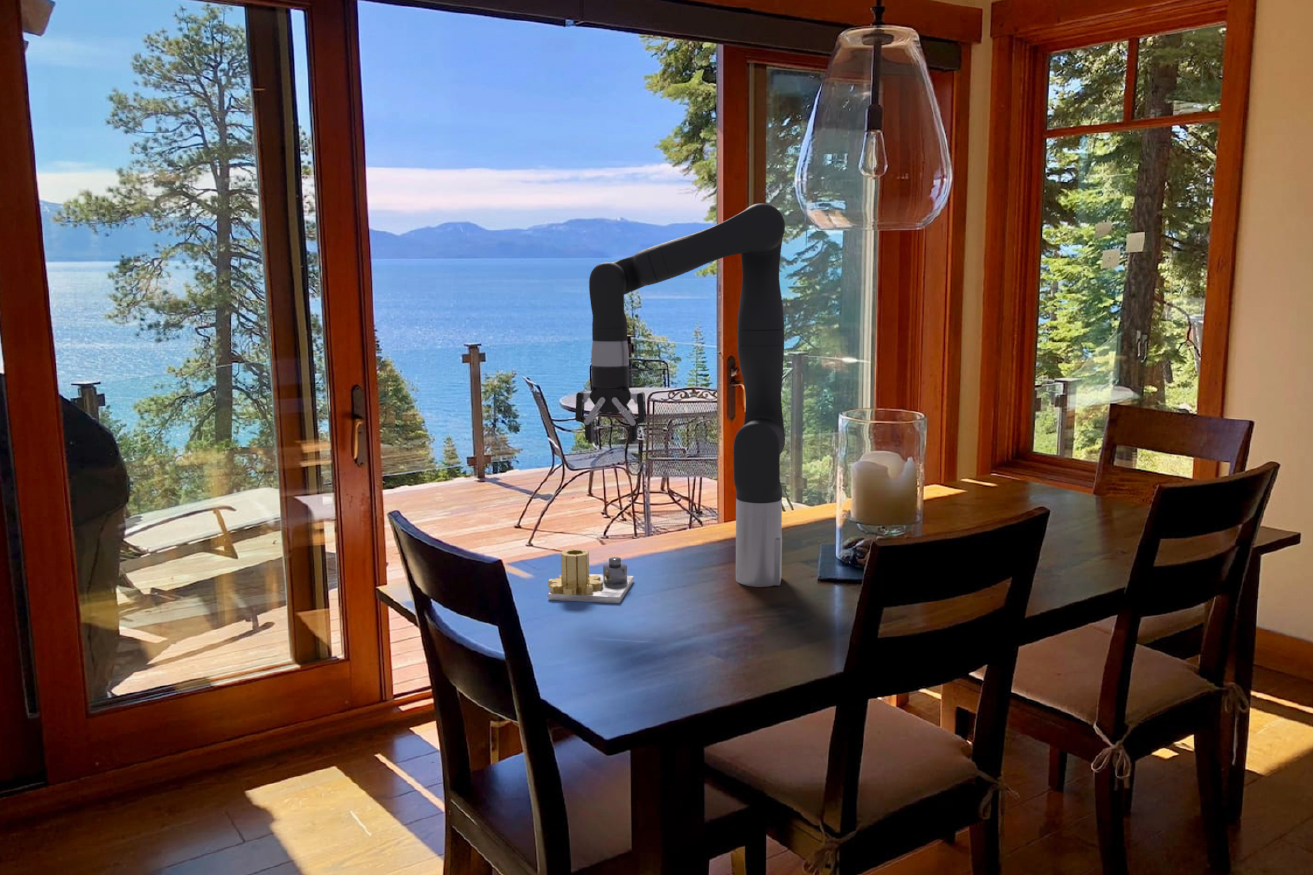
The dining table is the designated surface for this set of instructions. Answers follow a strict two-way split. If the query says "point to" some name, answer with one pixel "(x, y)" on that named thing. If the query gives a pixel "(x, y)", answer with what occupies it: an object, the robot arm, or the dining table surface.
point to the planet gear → (575, 574)
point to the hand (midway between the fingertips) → (611, 443)
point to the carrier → (604, 585)
